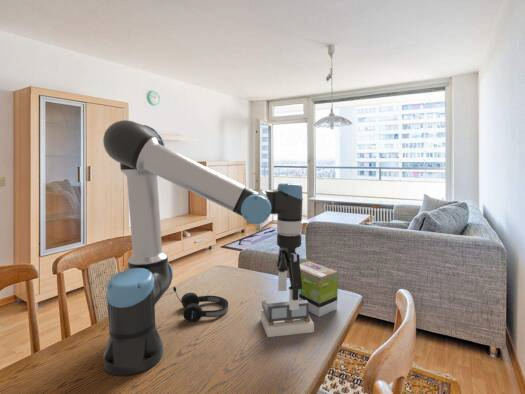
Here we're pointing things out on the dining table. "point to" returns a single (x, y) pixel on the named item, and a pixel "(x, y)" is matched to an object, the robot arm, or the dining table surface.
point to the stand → (287, 326)
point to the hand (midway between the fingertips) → (287, 299)
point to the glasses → (285, 311)
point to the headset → (195, 311)
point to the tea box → (319, 288)
